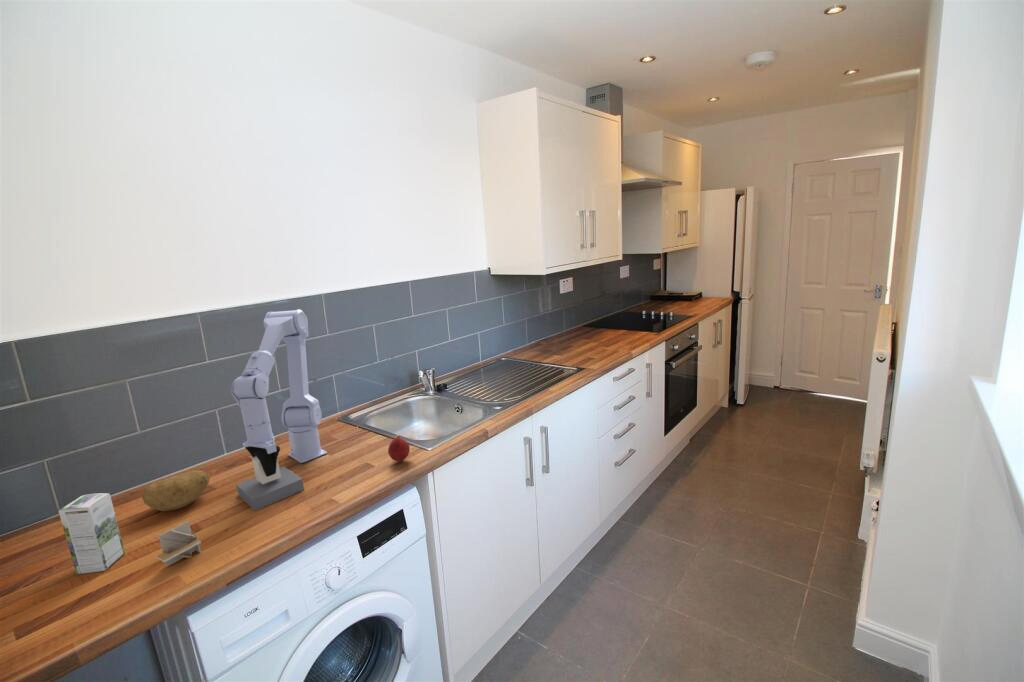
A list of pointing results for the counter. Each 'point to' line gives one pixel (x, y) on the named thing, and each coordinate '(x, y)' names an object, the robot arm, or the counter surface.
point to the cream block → (260, 472)
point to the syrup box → (92, 533)
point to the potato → (176, 491)
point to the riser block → (269, 489)
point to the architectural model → (178, 544)
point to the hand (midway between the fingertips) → (267, 472)
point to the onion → (398, 449)
